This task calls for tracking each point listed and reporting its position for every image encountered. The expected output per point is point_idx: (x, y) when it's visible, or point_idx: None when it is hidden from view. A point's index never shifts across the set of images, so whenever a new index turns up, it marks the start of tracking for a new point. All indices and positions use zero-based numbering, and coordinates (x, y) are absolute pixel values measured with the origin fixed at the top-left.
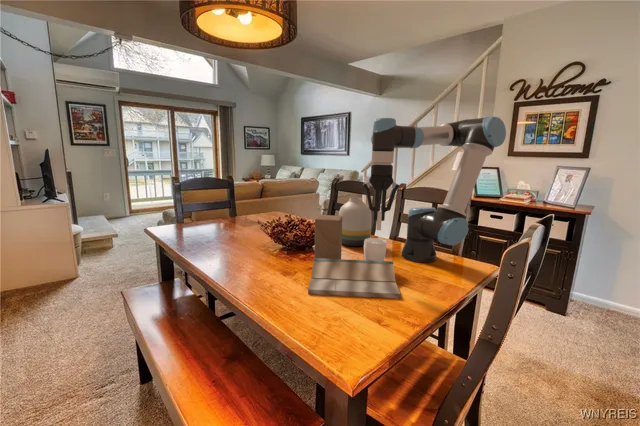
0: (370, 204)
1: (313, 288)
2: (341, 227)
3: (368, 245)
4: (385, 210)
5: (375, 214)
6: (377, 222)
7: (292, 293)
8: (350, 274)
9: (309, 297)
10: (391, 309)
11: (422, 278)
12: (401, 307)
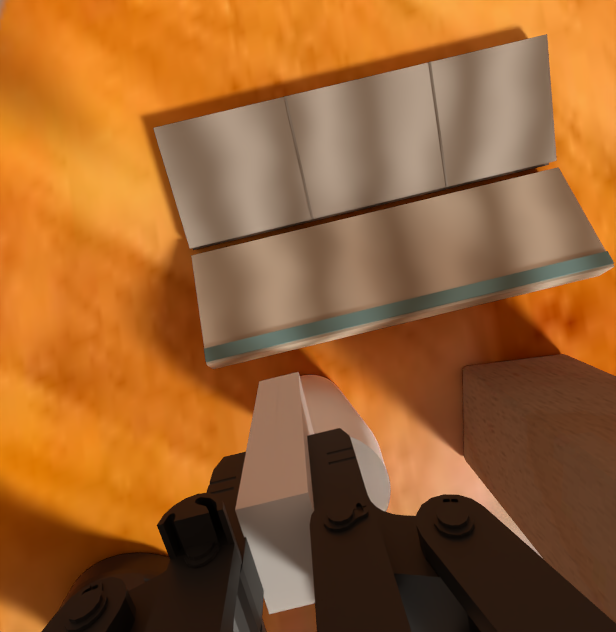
0: (531, 601)
1: (526, 52)
2: (585, 581)
3: (353, 429)
4: (170, 584)
5: (341, 481)
6: (297, 409)
7: (596, 27)
8: (394, 231)
9: (520, 11)
10: (178, 12)
11: (97, 378)
12: (142, 46)
